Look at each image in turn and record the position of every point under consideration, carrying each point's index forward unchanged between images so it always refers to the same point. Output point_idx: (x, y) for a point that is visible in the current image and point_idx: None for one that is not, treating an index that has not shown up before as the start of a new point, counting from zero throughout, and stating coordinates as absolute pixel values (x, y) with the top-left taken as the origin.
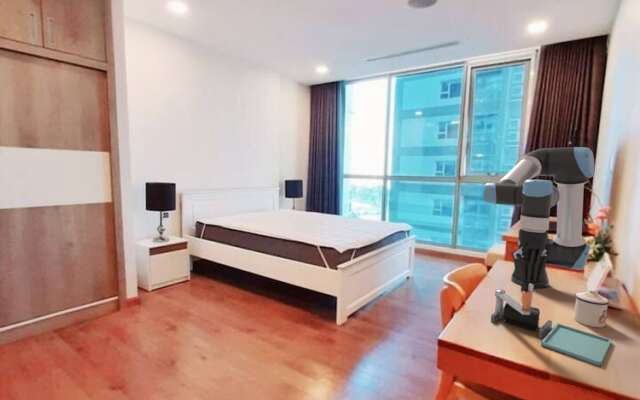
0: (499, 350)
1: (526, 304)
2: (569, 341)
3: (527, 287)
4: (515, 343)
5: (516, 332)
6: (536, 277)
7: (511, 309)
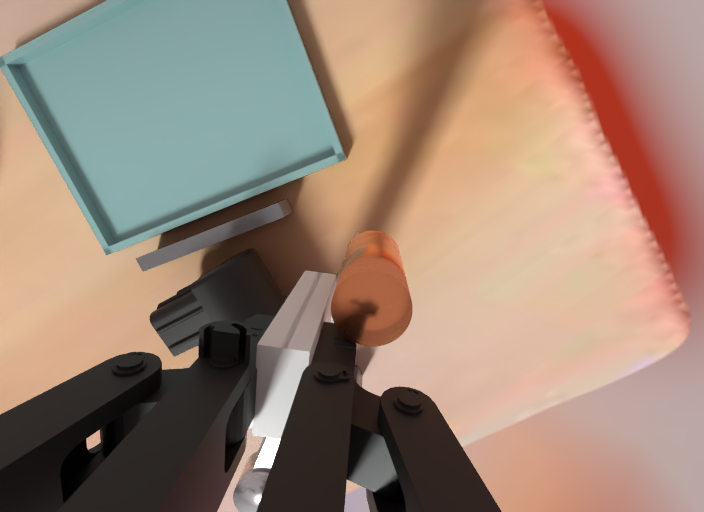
0: (557, 193)
1: (396, 253)
2: (195, 132)
3: (323, 353)
4: (434, 211)
5: None
6: (170, 398)
7: None
